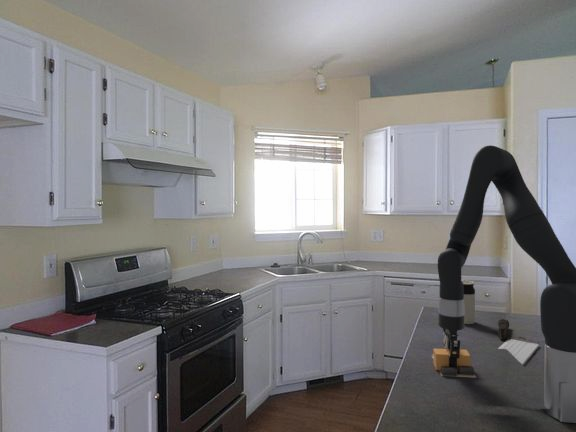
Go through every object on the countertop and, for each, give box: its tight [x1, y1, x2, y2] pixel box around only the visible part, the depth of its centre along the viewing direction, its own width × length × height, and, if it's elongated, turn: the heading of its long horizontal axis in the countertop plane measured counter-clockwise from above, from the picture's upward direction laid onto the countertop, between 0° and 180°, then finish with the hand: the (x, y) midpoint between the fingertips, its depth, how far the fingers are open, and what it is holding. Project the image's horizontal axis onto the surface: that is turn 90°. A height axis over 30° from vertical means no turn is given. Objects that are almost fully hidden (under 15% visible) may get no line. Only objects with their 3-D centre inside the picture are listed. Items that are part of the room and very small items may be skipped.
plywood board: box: [431, 354, 477, 379], centre depth 132 cm, size 17×10×2 cm, turn 170°
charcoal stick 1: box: [441, 366, 457, 377], centre depth 126 cm, size 2×4×2 cm, turn 80°
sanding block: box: [432, 347, 471, 371], centre depth 130 cm, size 5×10×5 cm, turn 79°
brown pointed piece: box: [497, 318, 510, 341], centre depth 167 cm, size 19×4×5 cm, turn 148°
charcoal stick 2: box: [458, 365, 475, 375], centre depth 126 cm, size 2×4×2 cm, turn 79°
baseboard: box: [497, 335, 540, 366], centre depth 145 cm, size 31×3×12 cm
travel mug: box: [461, 279, 476, 325], centre depth 184 cm, size 8×8×18 cm
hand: (450, 365), depth 130 cm, fingers closed on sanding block, 5 cm apart
